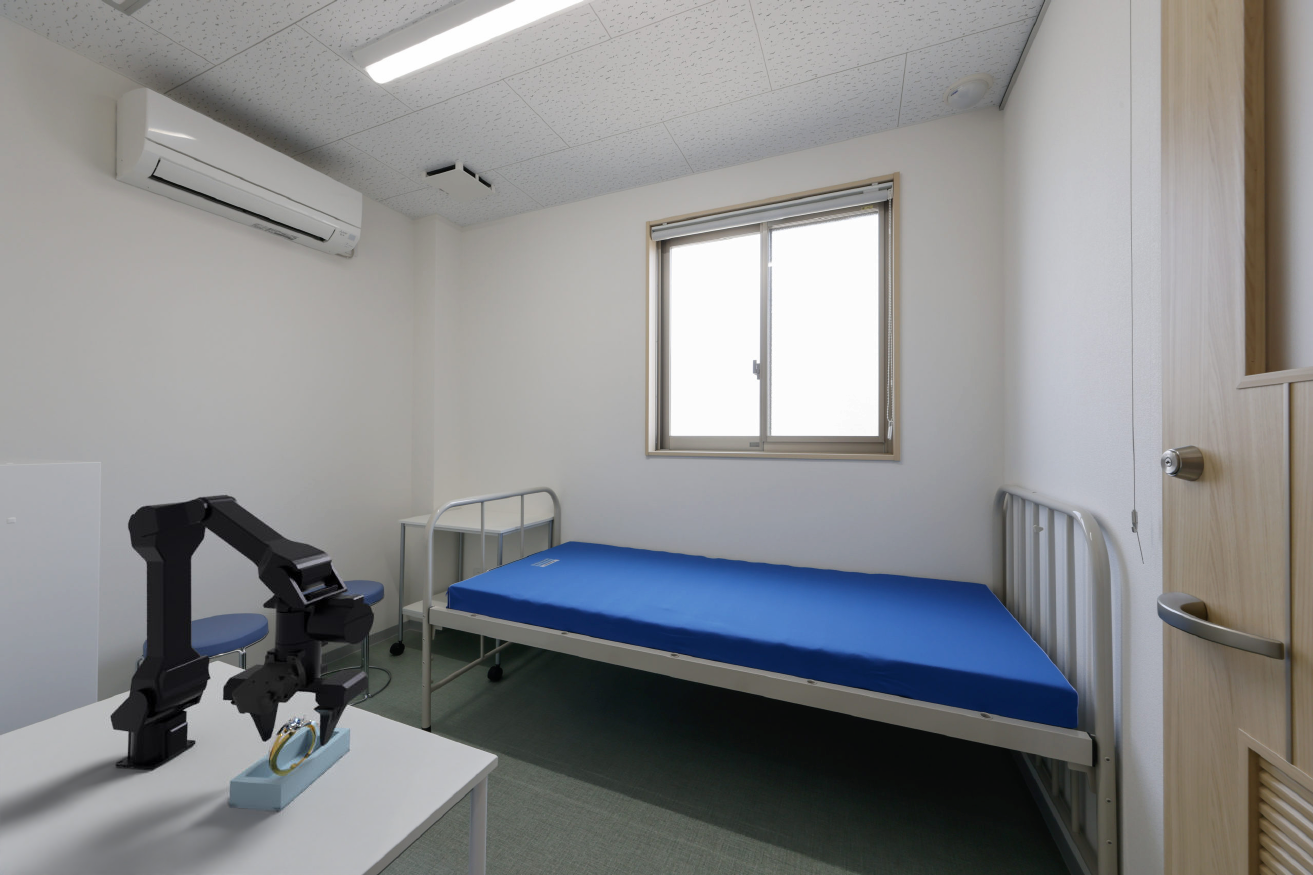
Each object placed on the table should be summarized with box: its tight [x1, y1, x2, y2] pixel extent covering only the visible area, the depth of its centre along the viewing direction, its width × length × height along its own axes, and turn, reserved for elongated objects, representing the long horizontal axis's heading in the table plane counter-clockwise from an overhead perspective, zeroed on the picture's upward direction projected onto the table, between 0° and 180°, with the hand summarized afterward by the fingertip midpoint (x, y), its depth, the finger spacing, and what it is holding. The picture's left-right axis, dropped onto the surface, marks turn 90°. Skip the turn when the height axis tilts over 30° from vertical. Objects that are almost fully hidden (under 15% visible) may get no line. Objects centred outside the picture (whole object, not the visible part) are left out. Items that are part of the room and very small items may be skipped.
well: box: [228, 726, 351, 812], centre depth 71 cm, size 8×13×4 cm, turn 175°
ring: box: [267, 714, 320, 776], centre depth 71 cm, size 7×3×8 cm, turn 154°
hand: (295, 742), depth 71 cm, fingers open, 9 cm apart
